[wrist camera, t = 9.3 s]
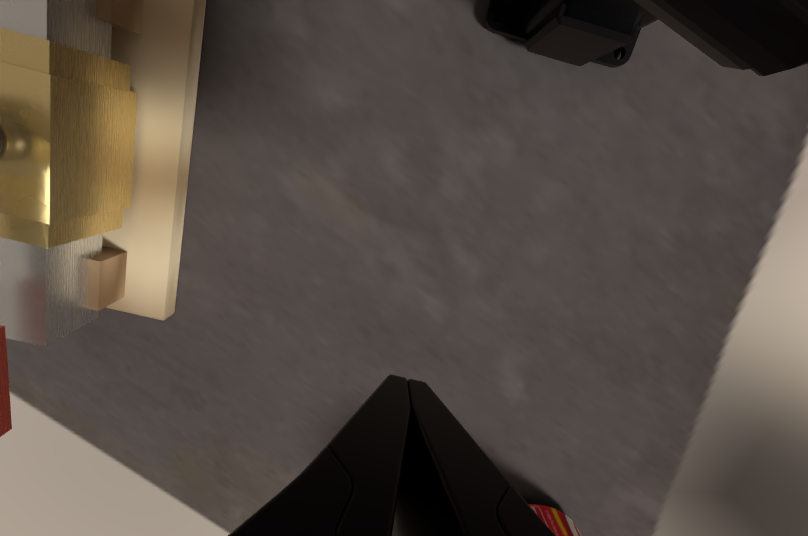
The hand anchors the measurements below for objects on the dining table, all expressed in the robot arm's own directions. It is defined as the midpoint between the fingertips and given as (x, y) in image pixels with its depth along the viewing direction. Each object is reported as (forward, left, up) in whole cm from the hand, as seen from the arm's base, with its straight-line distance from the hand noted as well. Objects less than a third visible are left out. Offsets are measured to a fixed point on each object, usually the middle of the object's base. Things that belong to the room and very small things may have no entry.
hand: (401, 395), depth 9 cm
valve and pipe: (-2, -15, -11) cm, 19 cm away
